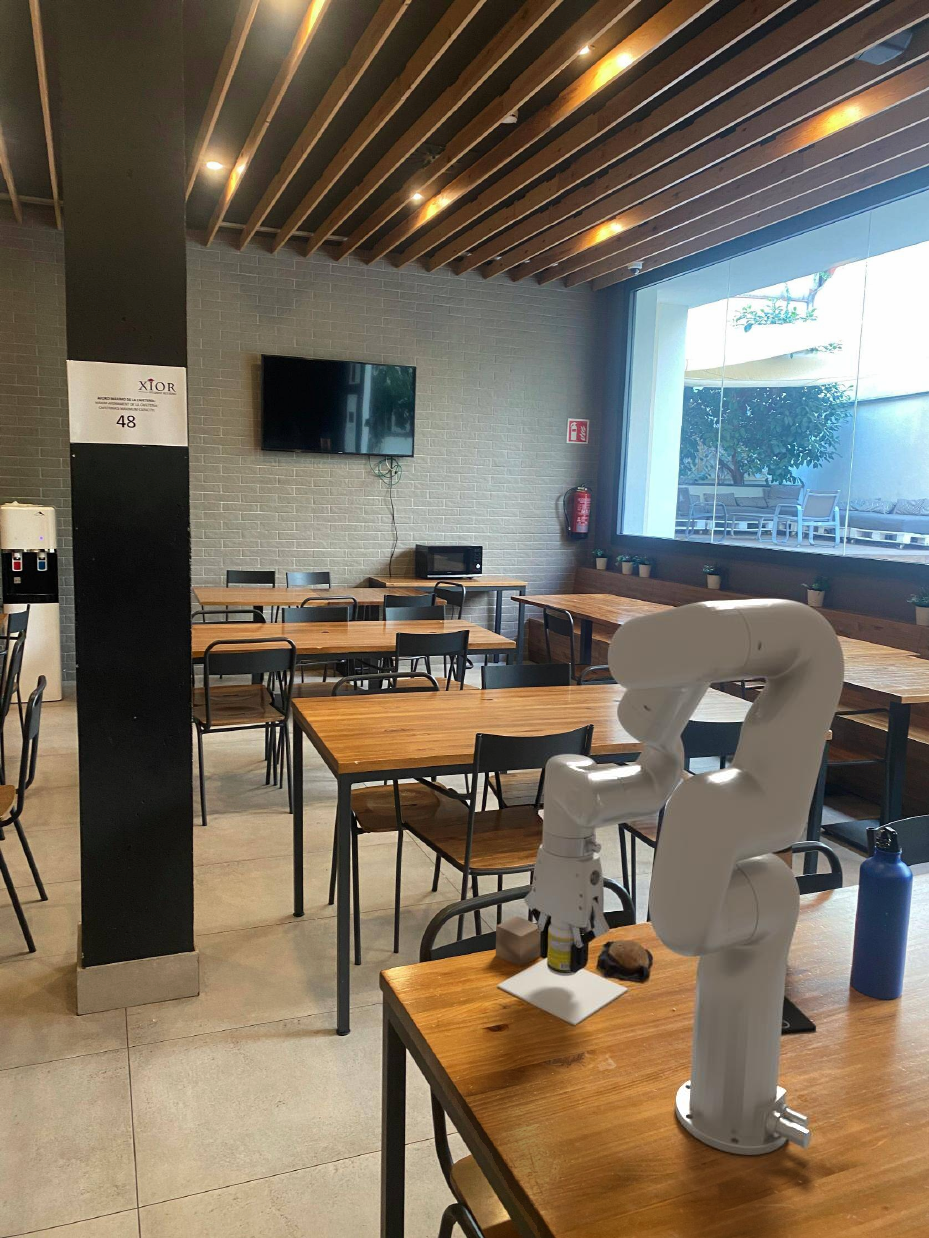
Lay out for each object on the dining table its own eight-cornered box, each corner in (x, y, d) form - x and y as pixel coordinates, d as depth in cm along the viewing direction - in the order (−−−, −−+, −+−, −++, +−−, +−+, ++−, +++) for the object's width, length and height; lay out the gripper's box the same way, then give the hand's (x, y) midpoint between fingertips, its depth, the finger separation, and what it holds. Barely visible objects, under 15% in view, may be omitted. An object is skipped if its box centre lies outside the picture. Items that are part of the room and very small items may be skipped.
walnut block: (540, 956, 140) (541, 926, 139) (519, 967, 136) (520, 936, 136) (516, 945, 143) (517, 915, 143) (495, 955, 140) (496, 925, 139)
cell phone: (757, 1039, 119) (758, 1032, 119) (697, 972, 137) (698, 966, 137) (817, 1033, 121) (817, 1026, 121) (750, 967, 138) (750, 962, 138)
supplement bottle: (558, 957, 133) (560, 903, 132) (585, 967, 130) (588, 913, 129) (540, 969, 129) (542, 914, 128) (567, 980, 126) (570, 924, 126)
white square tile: (627, 990, 130) (627, 988, 130) (574, 1025, 121) (575, 1023, 121) (551, 956, 140) (551, 954, 139) (497, 986, 130) (497, 984, 130)
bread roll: (600, 948, 144) (601, 926, 144) (653, 954, 142) (654, 932, 142) (594, 980, 134) (595, 956, 134) (652, 987, 132) (653, 963, 132)
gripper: (633, 851, 125) (626, 974, 127) (538, 820, 136) (534, 934, 138) (602, 865, 119) (596, 994, 121) (506, 832, 131) (502, 950, 133)
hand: (563, 960), depth 130 cm, fingers closed on supplement bottle, 4 cm apart
